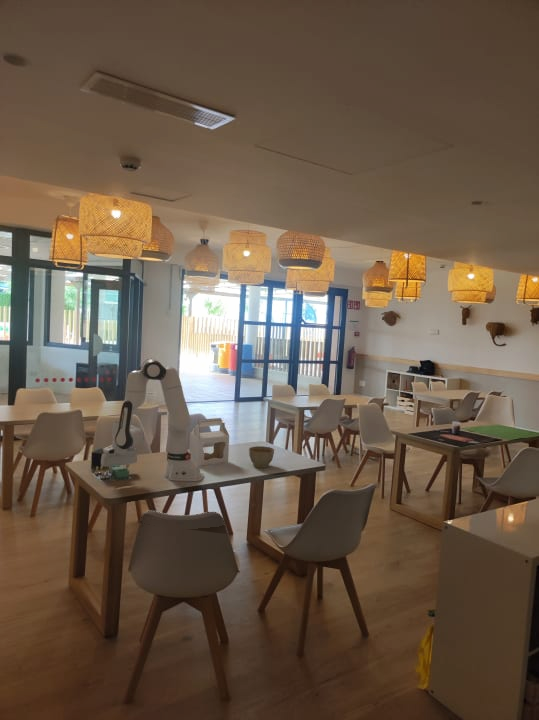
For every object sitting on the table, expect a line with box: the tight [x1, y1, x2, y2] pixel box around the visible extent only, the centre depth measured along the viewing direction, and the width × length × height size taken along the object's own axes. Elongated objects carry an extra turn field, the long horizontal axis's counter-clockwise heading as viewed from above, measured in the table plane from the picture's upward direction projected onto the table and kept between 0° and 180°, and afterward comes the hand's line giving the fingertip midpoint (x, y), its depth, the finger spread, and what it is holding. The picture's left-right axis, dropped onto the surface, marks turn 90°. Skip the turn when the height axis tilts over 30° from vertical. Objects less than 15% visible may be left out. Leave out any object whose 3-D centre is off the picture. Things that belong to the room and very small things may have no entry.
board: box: [108, 465, 130, 478], centre depth 294 cm, size 14×6×3 cm, turn 37°
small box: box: [90, 448, 105, 470], centre depth 306 cm, size 11×6×10 cm, turn 168°
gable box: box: [188, 417, 230, 467], centre depth 331 cm, size 22×13×28 cm, turn 125°
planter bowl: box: [248, 445, 275, 469], centre depth 328 cm, size 16×16×11 cm
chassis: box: [90, 466, 133, 484], centre depth 289 cm, size 20×17×6 cm
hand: (118, 472), depth 294 cm, fingers closed on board, 6 cm apart
